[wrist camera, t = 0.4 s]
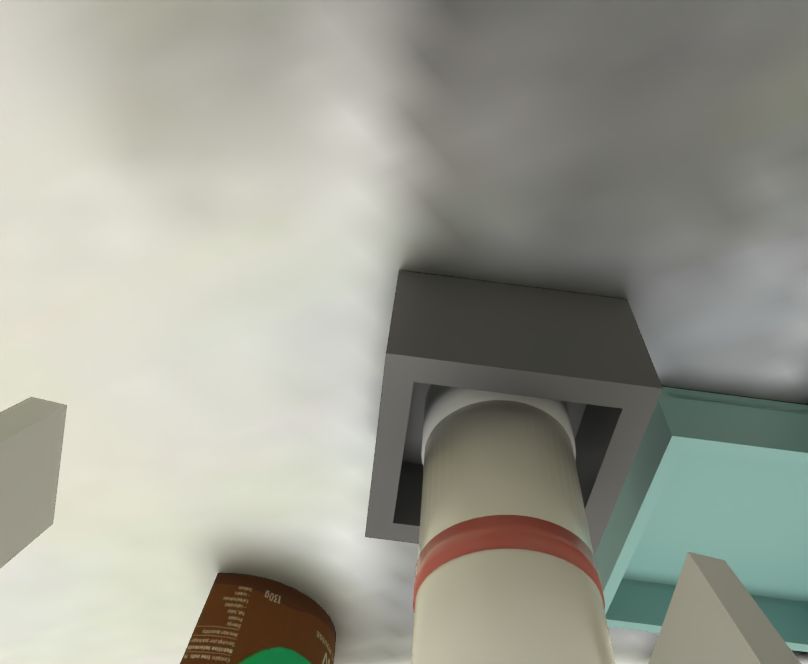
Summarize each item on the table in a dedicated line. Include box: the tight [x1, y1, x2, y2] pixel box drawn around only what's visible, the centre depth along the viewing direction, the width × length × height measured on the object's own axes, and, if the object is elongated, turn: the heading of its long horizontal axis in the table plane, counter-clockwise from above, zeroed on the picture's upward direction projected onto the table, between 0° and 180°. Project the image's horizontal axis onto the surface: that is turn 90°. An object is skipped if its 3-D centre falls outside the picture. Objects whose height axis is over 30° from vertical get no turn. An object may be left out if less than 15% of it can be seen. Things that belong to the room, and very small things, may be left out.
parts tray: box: [595, 387, 808, 652], centre depth 28 cm, size 11×11×3 cm
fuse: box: [411, 384, 615, 664], centre depth 18 cm, size 5×5×15 cm
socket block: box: [365, 270, 663, 556], centre depth 24 cm, size 8×8×5 cm
